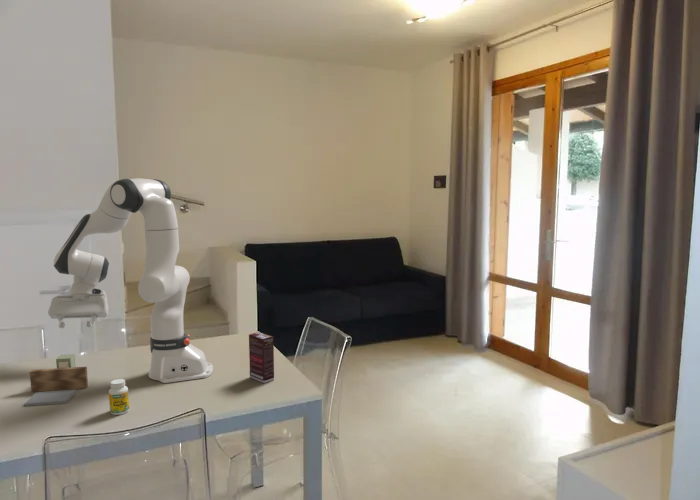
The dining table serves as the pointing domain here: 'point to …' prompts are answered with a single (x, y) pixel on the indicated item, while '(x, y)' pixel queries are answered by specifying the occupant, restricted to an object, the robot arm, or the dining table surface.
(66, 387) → the walnut screen
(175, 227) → the robot arm
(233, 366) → the dining table surface
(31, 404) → the display mat
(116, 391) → the supplement bottle
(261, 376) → the supplement box
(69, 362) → the olive letter block
